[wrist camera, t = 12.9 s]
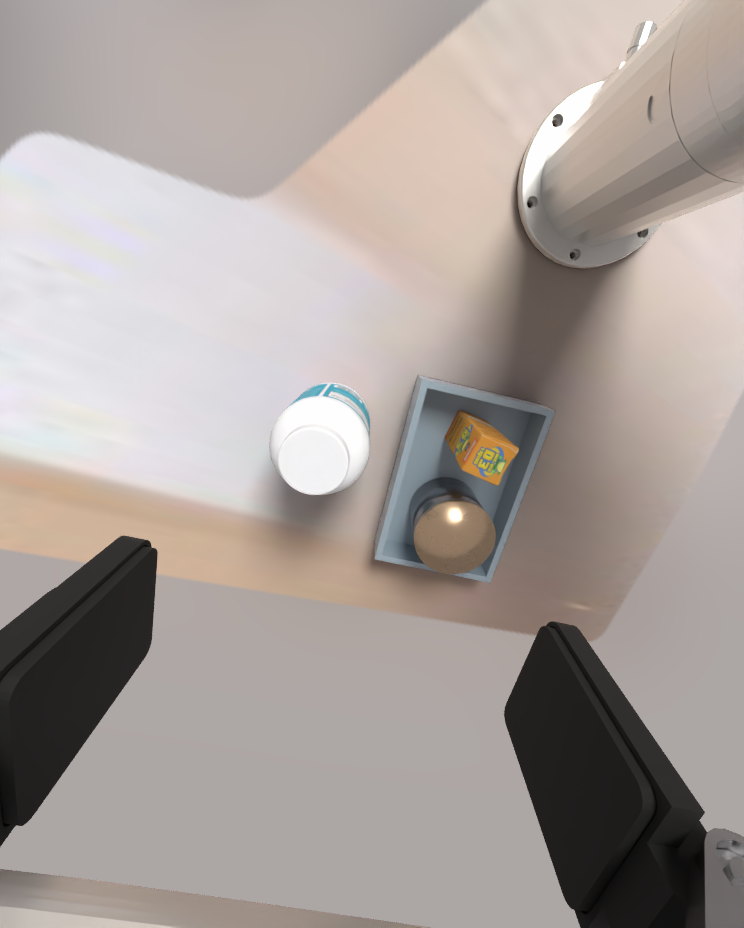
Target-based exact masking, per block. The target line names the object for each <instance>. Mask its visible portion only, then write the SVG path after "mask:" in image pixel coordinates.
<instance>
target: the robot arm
mask: <svg viewBox="0 0 744 928" xmlns="http://www.w3.org/2000/svg"><path fill="white" fill-rule="evenodd" d="M552 123H554V124H555V127H554V126H553V125H552ZM517 192H518V208H519V212H520V217H521V221H522V224H523V226H524V228H525V231H526V233H527V235H528V237H529V238H530V240H531V241H532V243H533V244H534V246H535V247H536V248H537V249H538V250H539V251H540V252H541V253H542V254H544V255H545V256H546V257H547V258H549V259H551V260H553V261H554V262H556V263H558V264H561V265H564V266H567V267H572V268H583V269H584V268H593V267H599V266H603V265H606V264H610V263H613V262H615V261H617V260H620V259H622V258H624V257H626V256H627V255H629V254H631V253H632V252H634V251H635V250H637V249H638V248H639V247H641V246H642V245H643V244H644V243H645V242H646V241H648V240H649V239H650V238H651V236H652V235H653V234H654V233H655V231H656V230H657V229H658V228H659V227H660V225H661V224H662V223H663V222H665V221H668V220H671V219H673V218H676V217H679V216H681V215H684V214H687V213H689V212H692V211H694V210H697V209H700V208H702V207H705V206H708V205H710V204H713V203H715V202H718V201H721V200H723V199H726V198H729V197H731V196H734V195H736V194H739V193H742V192H744V0H684V1H683V2H682V3H681V4H680V5H679V6H678V7H677V8H676V9H675V10H674V11H673V13H672V14H671V15H670V16H669V17H668V18H667V19H666V20H665V21H664V22H663V23H662V24H661V25H660V26H659V28H658V29H657V26H656V24H655V23H653V22H643V23H641V24H639V25H638V26H637V27H636V28H635V31H634V34H633V37H632V39H631V42H630V45H629V48H628V51H627V57H626V60H625V62H622V63H621V64H620V65H619V66H618V67H617V68H616V69H615V71H614V72H613V73H612V74H611V75H610V76H609V77H608V78H607V79H606V80H604V81H598V82H595V83H593V84H590V85H587V86H585V87H582V88H581V89H579V90H577V91H576V92H574V93H572V94H571V95H569V96H567V97H566V98H565V99H564V100H563V101H562V102H561V103H560V104H558V105H557V106H556V107H555V108H554V109H553V110H552V111H551V113H550V114H549V115H548V116H547V117H546V118H545V120H544V121H543V122H542V124H541V125H540V127H539V128H538V130H537V131H536V132H535V134H534V135H533V137H532V139H531V141H530V143H529V145H528V148H527V150H526V152H525V154H524V158H523V161H522V164H521V168H520V172H519V179H518V187H517ZM527 202H529V203H530V204H531V208H529V207H528V206H527ZM637 233H638V234H639V235H637ZM570 253H571V254H572V255H573V258H572V259H571V258H570ZM156 569H157V549H155V548H151V543H150V541H148V540H144V539H139V538H134V537H129V536H121V537H119V538H118V539H116V540H115V541H114V542H113V543H111V544H110V545H109V546H108V547H106V548H105V549H104V550H103V551H101V552H100V553H99V554H98V555H96V556H95V557H94V558H93V559H91V560H90V561H89V562H88V563H86V564H85V565H84V566H83V567H81V568H80V569H79V570H78V571H76V572H75V573H74V574H73V575H72V576H70V577H69V578H68V579H66V580H65V581H64V582H63V583H61V584H60V585H59V586H58V587H56V588H54V589H53V590H51V591H49V592H48V593H47V594H45V595H44V596H43V597H42V598H40V599H39V600H38V601H37V602H35V603H34V604H33V605H31V606H30V607H29V608H28V609H27V610H25V611H24V612H23V613H21V614H20V615H19V616H18V617H16V618H15V619H14V620H13V621H12V622H10V623H9V624H8V625H6V626H5V627H4V628H3V629H1V630H0V846H1V845H2V844H3V842H4V841H5V839H6V838H7V837H8V835H9V834H10V833H11V831H12V829H13V828H14V827H15V826H16V825H18V826H23V825H24V824H26V823H27V822H28V821H29V820H30V819H31V818H32V816H33V815H34V813H35V812H36V811H37V810H38V808H39V807H40V805H41V804H42V802H43V801H44V800H45V798H46V797H47V795H48V794H49V792H50V791H51V790H52V788H53V787H54V785H55V784H56V783H57V781H58V780H59V778H60V777H61V775H62V774H63V773H64V771H65V770H66V768H67V767H68V766H69V764H70V762H71V761H72V760H73V759H74V757H75V756H76V754H77V753H78V751H79V750H80V749H81V747H82V746H83V744H84V743H85V742H86V740H87V739H88V737H89V736H90V734H91V733H92V732H93V730H94V729H95V727H96V726H97V725H98V723H99V722H100V720H101V719H102V717H103V716H104V715H105V713H106V712H107V710H108V709H109V707H110V706H111V705H112V703H113V702H114V701H115V699H116V698H117V696H118V695H119V693H120V692H121V691H122V689H123V688H124V686H125V685H126V683H127V682H128V681H129V679H130V678H131V676H132V675H133V673H134V672H135V671H136V669H137V668H138V667H139V665H140V664H141V662H142V661H143V659H144V658H145V656H146V655H147V653H148V650H149V648H150V645H151V640H152V627H153V612H154V597H155V584H156ZM504 712H505V713H504V716H505V722H506V726H507V729H508V732H509V735H510V738H511V741H512V744H513V747H514V750H515V753H516V755H517V759H518V762H519V764H520V767H521V771H522V773H523V776H524V779H525V782H526V785H527V788H528V791H529V794H530V797H531V800H532V803H533V806H534V809H535V812H536V815H537V818H538V821H539V824H540V827H541V830H542V833H543V836H544V839H545V842H546V845H547V848H548V851H549V854H550V857H551V860H552V863H553V866H554V869H555V872H556V875H557V878H558V881H559V884H560V887H561V890H562V893H563V896H564V898H565V900H566V902H567V904H568V905H569V907H570V908H572V909H574V910H575V913H576V916H577V919H578V922H579V924H580V927H581V928H744V837H742V836H741V835H739V834H737V833H734V832H731V831H729V830H726V829H717V828H714V829H712V830H710V831H709V832H706V830H705V829H704V827H703V826H702V824H701V823H700V821H699V820H700V819H701V817H702V816H703V814H704V813H705V812H704V811H703V809H702V808H701V806H700V805H699V803H698V802H697V800H696V799H695V797H694V796H693V794H692V793H691V792H690V790H689V789H688V787H687V786H686V785H685V783H684V781H683V780H682V778H681V777H680V776H679V774H678V773H677V771H676V770H675V768H674V767H673V766H672V764H671V763H670V761H669V760H668V758H667V757H666V755H665V754H664V752H663V751H662V749H661V748H660V746H659V745H658V744H657V742H656V741H655V739H654V738H653V736H652V735H651V733H650V732H649V730H648V729H647V728H646V726H645V725H644V723H643V722H642V720H641V719H640V717H639V716H638V714H637V713H636V712H635V710H634V709H633V707H632V706H631V704H630V703H629V701H628V700H627V698H626V697H625V696H624V694H623V693H622V691H621V690H620V688H619V687H618V685H617V684H616V683H615V681H614V680H613V678H612V677H611V675H610V674H609V672H608V671H607V669H606V668H605V667H604V665H603V664H602V662H601V661H600V659H599V658H598V656H597V655H596V654H595V652H594V650H593V649H592V648H591V646H590V645H589V643H588V642H587V640H586V639H585V637H584V636H583V634H582V633H581V632H580V630H579V629H578V628H577V627H575V626H573V625H568V624H563V623H558V622H549V623H548V624H547V625H546V626H542V627H541V628H540V630H539V631H538V634H537V636H536V638H535V640H534V643H533V645H532V647H531V649H530V652H529V654H528V656H527V659H526V661H525V663H524V665H523V667H522V670H521V672H520V674H519V676H518V679H517V681H516V683H515V685H514V688H513V690H512V692H511V695H510V697H509V699H508V701H507V703H506V706H505V711H504ZM0 928H429V927H422V926H415V925H409V924H402V923H395V922H388V921H381V920H374V919H367V918H361V917H353V916H347V915H339V914H333V913H325V912H319V911H312V910H305V909H298V908H291V907H284V906H277V905H270V904H263V903H256V902H249V901H242V900H234V899H227V898H219V897H213V896H205V895H198V894H190V893H183V892H176V891H168V890H161V889H155V888H147V887H140V886H133V885H125V884H117V883H111V882H103V881H96V880H89V879H81V878H73V877H64V876H55V875H47V874H37V873H29V872H21V871H12V870H3V869H0Z"/></svg>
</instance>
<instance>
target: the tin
mask: <svg viewBox="0 0 744 928" xmlns="http://www.w3.org/2000/svg"><path fill="white" fill-rule="evenodd" d="M409 513H410V519H411V524H412V529H413V534H414V545H415V550H416V552H417V555H418V556H419V558H420V559H421V561H422V562H423V563H424V564H425V565H426V566H428V567H429V568H431V569H433V570H435V571H437V572H440V573H444V574H461V573H465V572H468V571H471V570H473V569H475V568H477V567H478V566H480V565H481V564H482V563H483V562H484V561H485V560H486V559H487V558H488V557H489V556H490V554H491V552H492V550H493V548H494V545H495V541H496V531H495V527H494V524H493V522H492V520H491V518H490V516H489V515H488V514H487V512H486V511H485V510H484V509H483V507H482V506H481V504H480V502H479V501H478V499H477V497H476V496H475V494H474V493H473V491H472V490H471V488H470V487H469V486H468V485H467V484H465V483H464V482H462V481H460V480H458V479H455V478H450V477H439V478H435V479H432V480H429V481H427V482H426V483H424V484H423V485H421V486H420V487H419V488H418V489H417V490H416V492H415V493H414V495H413V496H412V499H411V501H410V506H409Z"/></svg>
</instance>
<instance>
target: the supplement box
mask: <svg viewBox="0 0 744 928" xmlns="http://www.w3.org/2000/svg"><path fill="white" fill-rule="evenodd" d="M445 439H446V441H447V443H448V445H449V447H450V449H451V451H452V453H453V454H454V456H455V458H456V460H457V462H458V464H459V466H460V468H461V469H462V470H463V471H465V472H467V473H470V474H472V475H474V476H476V477H478V478H480V479H483V480H485V481H487V482H489V483H491V484H493V485H499V483H500V481H501V478H502V475H503V474H504V472H505V470H506V469H507V467H508V466H509V464H510V462H511V461H512V459H513V458H515V456H516V454H517V453H518V451H519V448H518V447H516V446H515V445H514V444H512V443H511V442H510V441H509V440H508V439H507V438H506V437H504V436H503V435H502V434H501V433H500V432H499V431H498V430H496V429H495V428H494V427H493V426H492V425H491V424H490V423H489V422H488V421H486V420H484V419H481V418H479V417H477V416H474V415H472V414H469V413H467V412H464V411H462V410H458V412H457V414H456V416H455V418H454V419H453V421H452V423H451V425H450V427H449V429H448V431H447V433H446V435H445Z"/></svg>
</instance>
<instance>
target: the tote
mask: <svg viewBox="0 0 744 928" xmlns="http://www.w3.org/2000/svg"><path fill="white" fill-rule="evenodd" d="M458 410H462V411H464V412H467V413H469V414H472V415H474V416H477V417H479V418H481V419H484V420H486V421H488V422H489V423H490V424H491V425H492V426H493V427H494V428H495V429H496V430H498V431H499V432H500V433H501V434H502V435H503V436H504V437H506V438H507V439H508V440H509V441H510V442H511V443H512V444H514V445H515V446H516V447H518V448H519V451H518V453H517V454H516V456H515V458H513V459H512V461H511V462H510V464H509V466H508V467H507V469H506V470H505V472H504V474H503V475H502V478H501V481H500V483H499V485H493V484H491V483H489V482H487V481H485V480H483V479H480V478H478V477H476V476H474V475H472V474H470V473H467V472H465V471H463V470H462V469H461V468H460V466H459V464H458V462H457V460H456V458H455V456H454V454H453V453H452V451H451V449H450V447H449V445H448V443H447V441H446V439H445V435H446V433H447V431H448V429H449V427H450V425H451V423H452V421H453V419H454V418H455V416H456V414H457V412H458ZM554 414H555V410H552V409H550V408H548V407H545V406H543V405H541V404H538V403H534V402H530V401H526V400H521V399H517V398H513V397H509V396H505V395H500V394H496V393H492V392H488V391H483V390H479V389H475V388H471V387H467V386H462V385H458V384H454V383H450V382H446V381H441V380H437V379H433V378H429V377H425V376H420V375H418V377H417V381H416V384H415V388H414V392H413V396H412V400H411V404H410V407H409V411H408V415H407V419H406V423H405V426H404V430H403V434H402V438H401V442H400V446H399V449H398V453H397V457H396V461H395V465H394V468H393V472H392V476H391V480H390V484H389V488H388V491H387V495H386V499H385V503H384V507H383V510H382V514H381V518H380V522H379V526H378V530H377V533H376V537H375V559H376V560H381V561H385V562H390V563H395V564H400V565H405V566H410V567H415V568H420V569H425V570H429V571H434V572H437V571H435V570H433V569H431V568H429V567H428V566H426V565H425V564H424V563H423V562H422V561H421V559H420V558H419V556H418V555H417V552H416V550H415V545H414V534H413V529H412V524H411V519H410V513H409V506H410V501H411V499H412V496H413V495H414V493H415V492H416V490H417V489H418V488H419V487H420V486H421V485H423V484H424V483H426V482H427V481H429V480H432V479H435V478H439V477H450V478H455V479H458V480H460V481H462V482H464V483H465V484H467V485H468V486H469V487H470V488H471V490H472V491H473V493H474V494H475V496H476V497H477V499H478V501H479V502H480V504H481V506H482V507H483V509H484V510H485V511H486V512H487V514H488V515H489V516H490V518H491V520H492V522H493V524H494V527H495V531H496V541H495V545H494V548H493V550H492V552H491V554H490V556H489V557H488V558H487V559H486V560H485V561H484V562H483V563H482V564H481V565H480V566H478V567H477V568H475V569H473V570H471V571H468V572H465V573H461V574H449V575H454V576H459V577H464V578H469V579H473V580H478V581H483V582H488V583H490V582H491V580H492V577H493V574H494V572H495V569H496V567H497V564H498V561H499V559H500V556H501V553H502V551H503V548H504V546H505V543H506V540H507V538H508V535H509V532H510V530H511V527H512V524H513V522H514V519H515V517H516V514H517V511H518V509H519V506H520V503H521V501H522V498H523V496H524V493H525V490H526V488H527V485H528V482H529V480H530V477H531V474H532V472H533V469H534V467H535V464H536V461H537V459H538V456H539V453H540V451H541V448H542V446H543V443H544V440H545V438H546V435H547V432H548V430H549V427H550V425H551V422H552V419H553V417H554ZM439 573H440V572H439Z"/></svg>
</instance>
